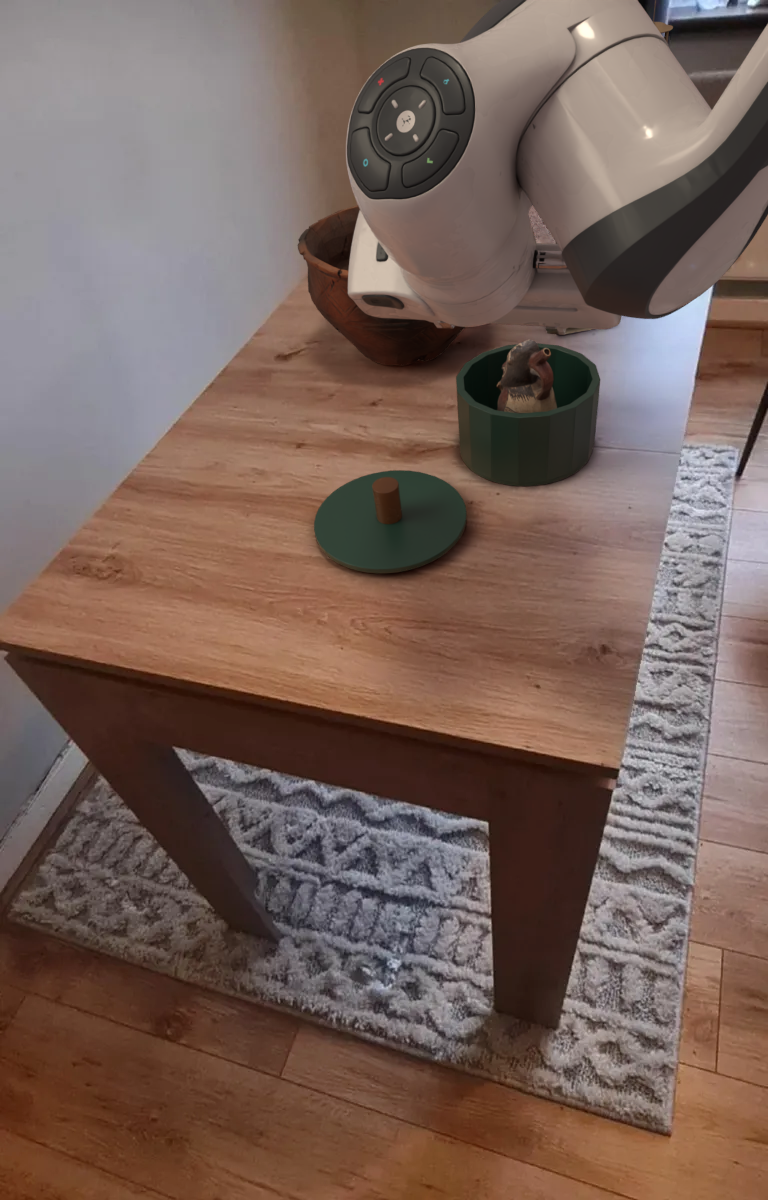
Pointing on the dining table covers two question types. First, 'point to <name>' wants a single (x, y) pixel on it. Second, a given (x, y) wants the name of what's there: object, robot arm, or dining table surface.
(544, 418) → the pot
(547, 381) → the figurine
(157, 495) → the dining table surface
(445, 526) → the lid
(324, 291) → the bowl
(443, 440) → the dining table surface
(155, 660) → the dining table surface
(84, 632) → the dining table surface
